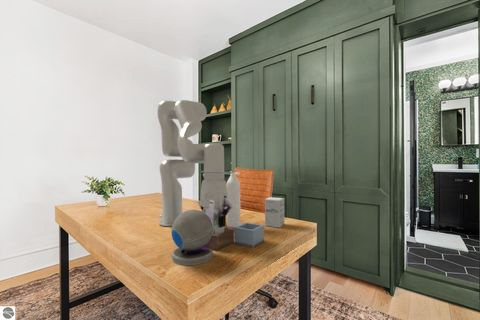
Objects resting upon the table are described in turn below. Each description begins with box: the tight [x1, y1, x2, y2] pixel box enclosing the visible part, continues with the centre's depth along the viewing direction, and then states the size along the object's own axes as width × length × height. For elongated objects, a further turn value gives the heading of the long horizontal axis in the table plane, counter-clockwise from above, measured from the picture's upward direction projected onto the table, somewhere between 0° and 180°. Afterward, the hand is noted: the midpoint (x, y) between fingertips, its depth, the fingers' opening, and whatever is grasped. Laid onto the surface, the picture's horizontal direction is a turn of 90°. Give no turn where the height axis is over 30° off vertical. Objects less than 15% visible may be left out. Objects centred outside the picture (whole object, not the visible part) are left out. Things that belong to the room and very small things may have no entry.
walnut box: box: [205, 226, 235, 252], centre depth 87 cm, size 10×10×5 cm
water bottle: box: [226, 171, 242, 229], centre depth 111 cm, size 9×6×25 cm
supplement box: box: [264, 196, 285, 229], centre depth 110 cm, size 7×7×13 cm
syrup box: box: [204, 200, 226, 235], centre depth 87 cm, size 6×6×14 cm
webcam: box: [170, 209, 214, 266], centre depth 76 cm, size 13×13×15 cm
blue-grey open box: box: [234, 222, 265, 249], centre depth 88 cm, size 8×8×6 cm
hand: (214, 224), depth 87 cm, fingers closed on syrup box, 6 cm apart
